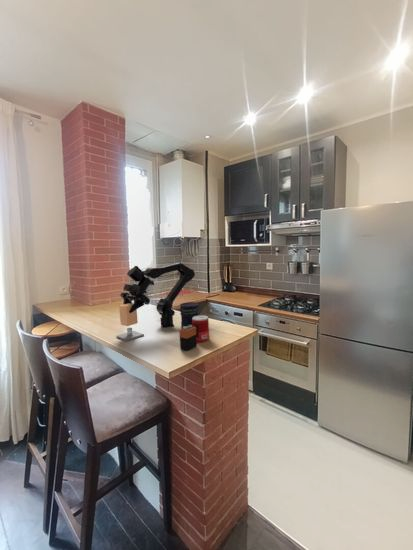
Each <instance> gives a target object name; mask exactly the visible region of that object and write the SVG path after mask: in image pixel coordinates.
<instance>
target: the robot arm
mask: <svg viewBox="0 0 413 550" xmlns="http://www.w3.org/2000/svg"><path fill="white" fill-rule="evenodd" d="M175 271H177V273H178V274H179V279H178V281H176V283H175V285H173V287H172V288H171V289H170V292H169V293H168V294H167V296H166V297H165V298H159V301H158V302H156V311H157V312H158V314H159V316H161V317H160V318H159V319H160V326H161V327H162V328H167V327H169V328H170V327H174V326H175V325H174V318H173V316H175V313H176V312H175V310H174V309H173V305H174V301H175V300H176V298H177V297H178V296H179V294H180V293H181V291H182V290H183V288H184V287H185V286H186V285H187V283H189V282H190V281H193V279H194V278H195V277H196V276H195V270H194V269H193V268H192V269H191V268H190V267H188V266H187V265H185V264H183V263H181V262H176V263H173V264H169V265H165V266H159V267H148V268H146V269H145V270H142V269H140V267H139V266H138V265H135V266H133V267H132V268H131V269H129V270H128V271H127V274H126V275H127V276H128V277H129V278H130V279H131V280H132V281H134V282H135V283H131V284H128V283H125V284H124V285H123V289H122V290H123V291H122V292H121V293H120V294H119V296H120V297H121V298H122V299H123V304H127V303H132V304H133V305H132V307H131V309H130V311H129V313H132V312H133V311H135V310H136V309H137V310H139V308H142V307H143V306H145V305H147V306H148V305H149V304H150V302H151V298H149V296H147V295H146V294H147V293H148V288H149V287H150V286H155V283H154V280H152V279H158V278H159V277H161V276H162V275H164V274H168V273H171V272H175ZM137 282H138V283H137ZM136 283H137V284H136ZM124 291H125V292H124ZM123 304H122V305H123Z"/></svg>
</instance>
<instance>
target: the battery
mask: <svg viewBox="0 0 413 550" xmlns="http://www.w3.org/2000/svg"><path fill="white" fill-rule="evenodd" d="M178 330H179V346H180V350H183V351H186V352H189V351H190V350H192V349H195V348H196V347H197V345H198V342H197V340H196V327H194V326H192V325H189V326H185V327H183V328H180V329H178Z"/></svg>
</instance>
